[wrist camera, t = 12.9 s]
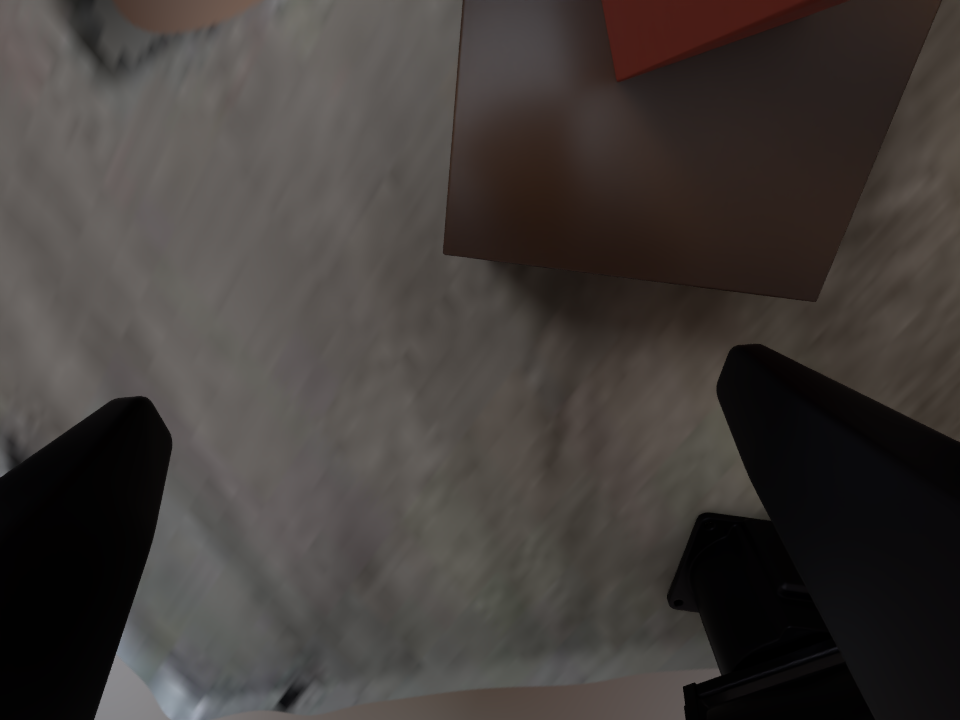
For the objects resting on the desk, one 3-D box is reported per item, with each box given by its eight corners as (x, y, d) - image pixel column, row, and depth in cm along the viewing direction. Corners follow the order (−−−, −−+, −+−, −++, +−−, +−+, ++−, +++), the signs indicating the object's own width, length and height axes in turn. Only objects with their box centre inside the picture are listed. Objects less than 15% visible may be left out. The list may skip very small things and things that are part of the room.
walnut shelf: (757, 266, 20) (817, 302, 16) (458, 228, 20) (442, 255, 16) (913, -176, 15) (1064, -290, 11) (499, -221, 15) (489, -349, 11)
